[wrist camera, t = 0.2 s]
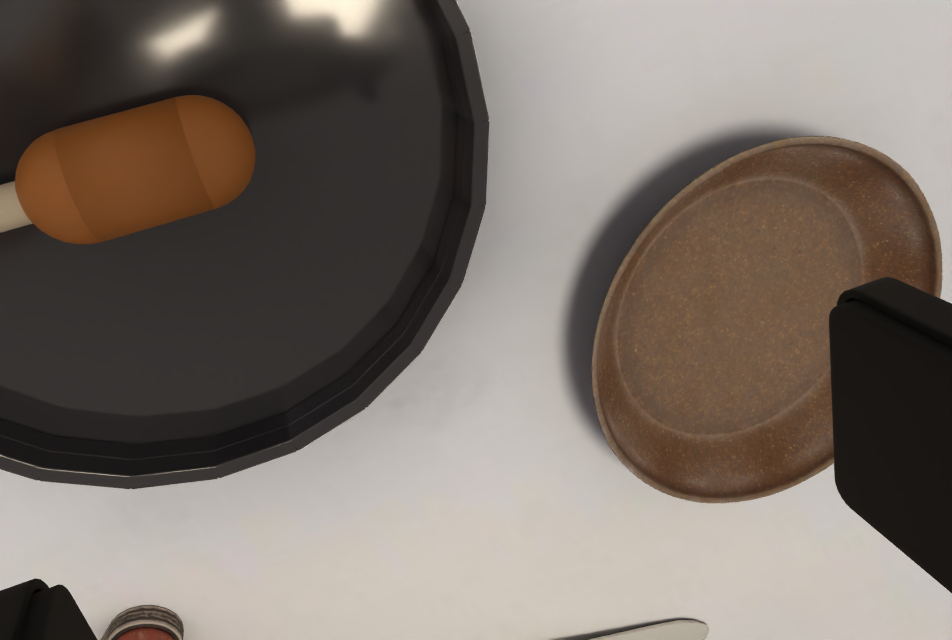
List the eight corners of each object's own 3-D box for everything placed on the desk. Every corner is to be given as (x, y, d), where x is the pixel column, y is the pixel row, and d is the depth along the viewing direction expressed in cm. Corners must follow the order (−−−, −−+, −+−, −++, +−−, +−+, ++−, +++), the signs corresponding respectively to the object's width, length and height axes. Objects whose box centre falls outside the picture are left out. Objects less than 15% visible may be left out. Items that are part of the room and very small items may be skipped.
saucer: (833, 467, 38) (874, 500, 36) (533, 475, 34) (558, 514, 31) (942, 144, 33) (999, 157, 31) (607, 101, 29) (644, 113, 26)
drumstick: (-85, 281, 24) (-124, 322, 21) (-145, 175, 23) (-195, 204, 20) (267, 178, 26) (274, 204, 23) (231, 75, 25) (235, 88, 22)
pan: (-462, -144, 19) (-550, -159, 17) (374, -308, 23) (392, -338, 20) (-41, 528, 28) (-63, 577, 26) (518, 338, 31) (541, 366, 29)
